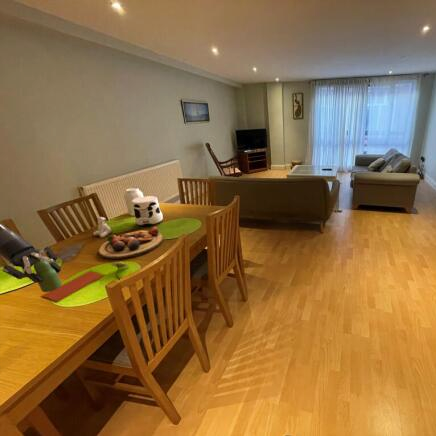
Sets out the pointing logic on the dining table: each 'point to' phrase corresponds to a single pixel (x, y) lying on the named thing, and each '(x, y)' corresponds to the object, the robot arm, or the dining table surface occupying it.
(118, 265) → the decorative flower
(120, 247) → the wooden plate
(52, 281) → the pear
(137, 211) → the milk container
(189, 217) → the dining table surface
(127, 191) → the white vase
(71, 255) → the rug
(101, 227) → the seated beast figurine
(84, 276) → the cloth
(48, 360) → the dining table surface
